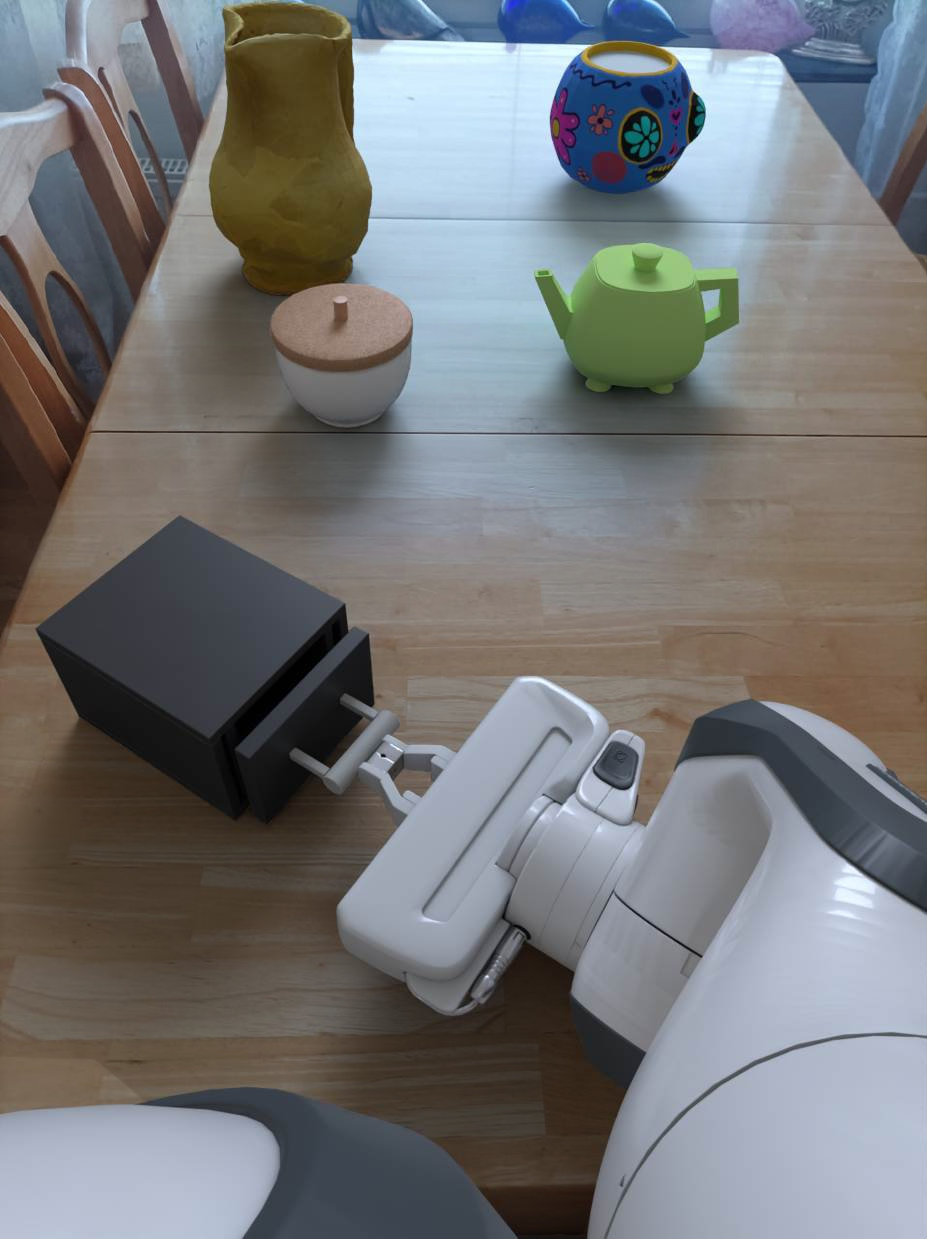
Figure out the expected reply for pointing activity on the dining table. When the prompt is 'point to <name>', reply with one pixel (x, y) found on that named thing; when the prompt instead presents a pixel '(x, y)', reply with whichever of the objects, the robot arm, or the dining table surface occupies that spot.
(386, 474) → the dining table surface
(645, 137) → the ceramic pot
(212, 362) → the dining table surface
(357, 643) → the drawer
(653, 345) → the teapot
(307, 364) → the lidded bowl
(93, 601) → the cabinet
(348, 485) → the dining table surface
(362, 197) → the pitcher
